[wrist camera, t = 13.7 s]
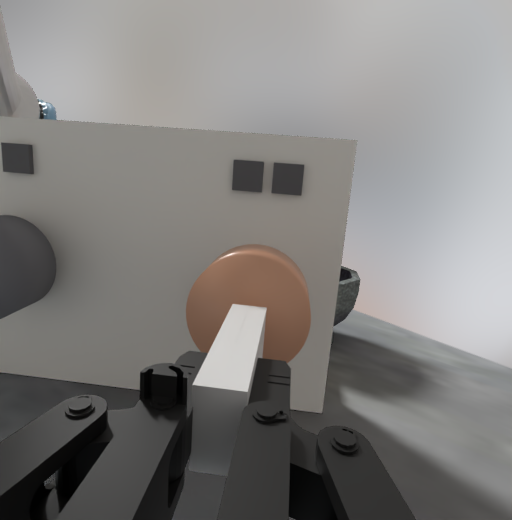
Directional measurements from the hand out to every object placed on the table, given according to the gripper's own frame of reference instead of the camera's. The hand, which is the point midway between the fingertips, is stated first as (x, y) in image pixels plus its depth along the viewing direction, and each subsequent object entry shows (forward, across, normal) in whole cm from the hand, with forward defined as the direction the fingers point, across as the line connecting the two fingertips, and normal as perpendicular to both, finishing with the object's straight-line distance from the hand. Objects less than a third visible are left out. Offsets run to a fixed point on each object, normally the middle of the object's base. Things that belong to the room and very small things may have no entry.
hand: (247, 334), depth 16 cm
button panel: (+11, -8, -9) cm, 16 cm away
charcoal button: (+8, -16, -3) cm, 18 cm away
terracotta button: (+6, 0, -3) cm, 7 cm away
